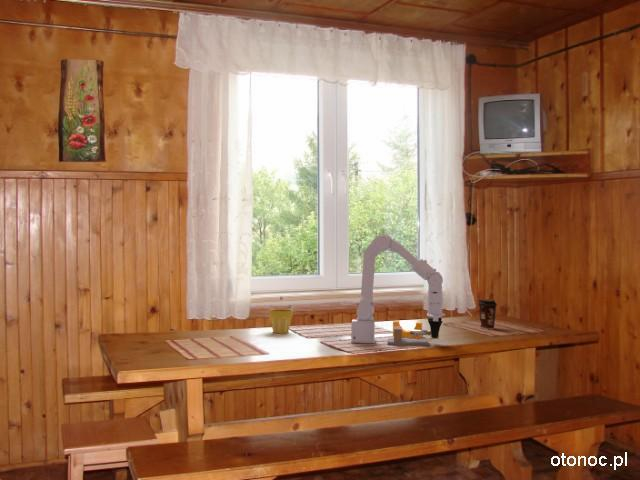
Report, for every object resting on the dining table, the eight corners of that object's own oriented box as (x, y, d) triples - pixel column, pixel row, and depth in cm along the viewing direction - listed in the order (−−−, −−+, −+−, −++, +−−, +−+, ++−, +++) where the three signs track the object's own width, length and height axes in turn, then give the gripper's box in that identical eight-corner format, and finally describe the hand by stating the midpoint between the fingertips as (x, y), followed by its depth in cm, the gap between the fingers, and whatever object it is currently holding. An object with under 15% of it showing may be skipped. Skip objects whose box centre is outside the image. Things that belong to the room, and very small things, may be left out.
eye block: (387, 344, 269) (387, 329, 269) (388, 341, 277) (388, 326, 276) (428, 345, 267) (428, 330, 267) (427, 342, 275) (428, 327, 274)
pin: (410, 338, 270) (410, 327, 270) (410, 337, 273) (410, 326, 273) (438, 339, 269) (438, 328, 268) (438, 337, 272) (438, 326, 271)
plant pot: (294, 330, 303) (294, 308, 303) (291, 334, 293) (291, 311, 292) (271, 330, 304) (271, 308, 304) (267, 333, 294) (267, 311, 293)
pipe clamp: (423, 337, 289) (423, 321, 289) (420, 338, 285) (420, 323, 285) (395, 335, 293) (395, 320, 293) (392, 336, 289) (392, 321, 289)
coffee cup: (473, 327, 315) (473, 299, 315) (488, 326, 318) (488, 298, 318) (485, 330, 307) (486, 301, 307) (500, 329, 311) (500, 300, 310)
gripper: (446, 305, 262) (446, 340, 263) (444, 300, 277) (443, 334, 277) (427, 304, 263) (427, 339, 263) (426, 300, 278) (426, 333, 278)
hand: (434, 337), depth 270 cm, fingers open, 4 cm apart
